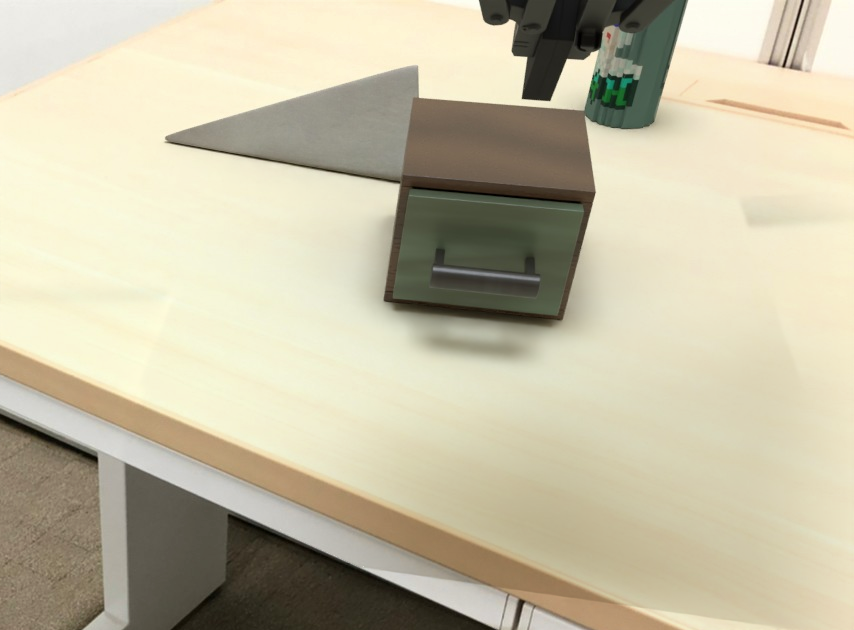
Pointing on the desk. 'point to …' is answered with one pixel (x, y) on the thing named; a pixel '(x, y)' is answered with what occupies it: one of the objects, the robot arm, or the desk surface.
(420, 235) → the drawer
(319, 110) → the grey triangular wedge
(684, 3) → the can
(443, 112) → the cabinet
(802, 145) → the desk surface
